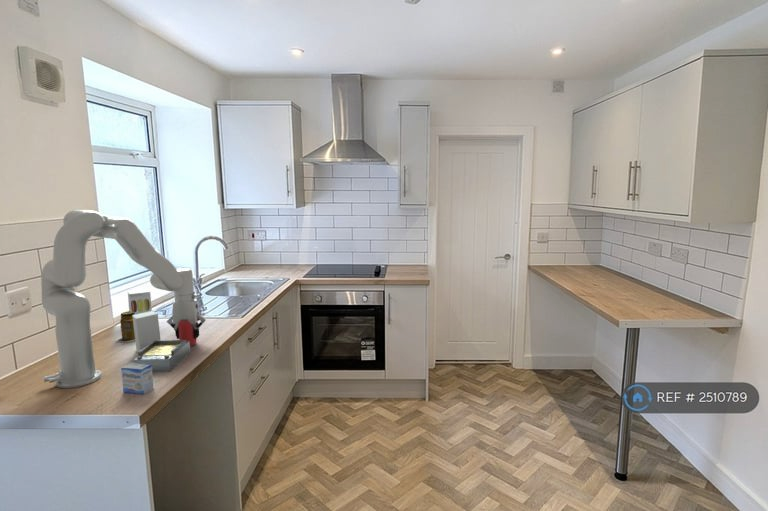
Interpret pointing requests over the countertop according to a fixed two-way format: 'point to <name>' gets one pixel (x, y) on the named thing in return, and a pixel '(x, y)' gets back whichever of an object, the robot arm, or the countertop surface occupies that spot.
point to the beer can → (186, 331)
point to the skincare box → (145, 329)
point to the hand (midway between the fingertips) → (187, 337)
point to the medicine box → (137, 378)
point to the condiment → (127, 327)
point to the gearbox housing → (163, 354)
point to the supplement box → (139, 301)
